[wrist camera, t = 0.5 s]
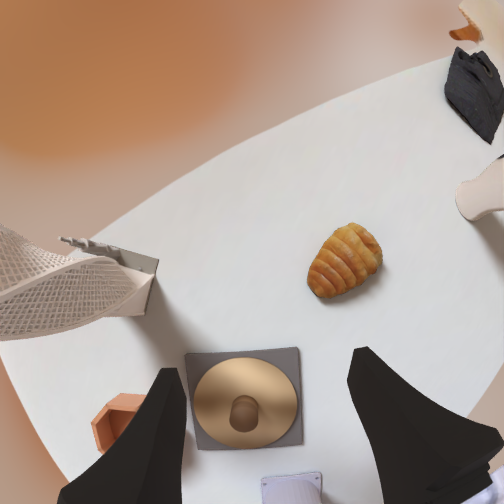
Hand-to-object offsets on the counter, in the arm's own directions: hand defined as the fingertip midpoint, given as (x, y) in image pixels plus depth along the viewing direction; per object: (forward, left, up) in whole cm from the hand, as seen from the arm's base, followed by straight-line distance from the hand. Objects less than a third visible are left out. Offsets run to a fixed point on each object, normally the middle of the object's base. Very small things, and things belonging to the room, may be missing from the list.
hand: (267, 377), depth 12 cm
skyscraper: (+5, +15, -24) cm, 29 cm away
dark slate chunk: (+35, -44, -24) cm, 61 cm away
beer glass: (+13, -33, -23) cm, 42 cm away
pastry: (+6, -11, -24) cm, 27 cm away
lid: (-10, +2, -22) cm, 25 cm away
